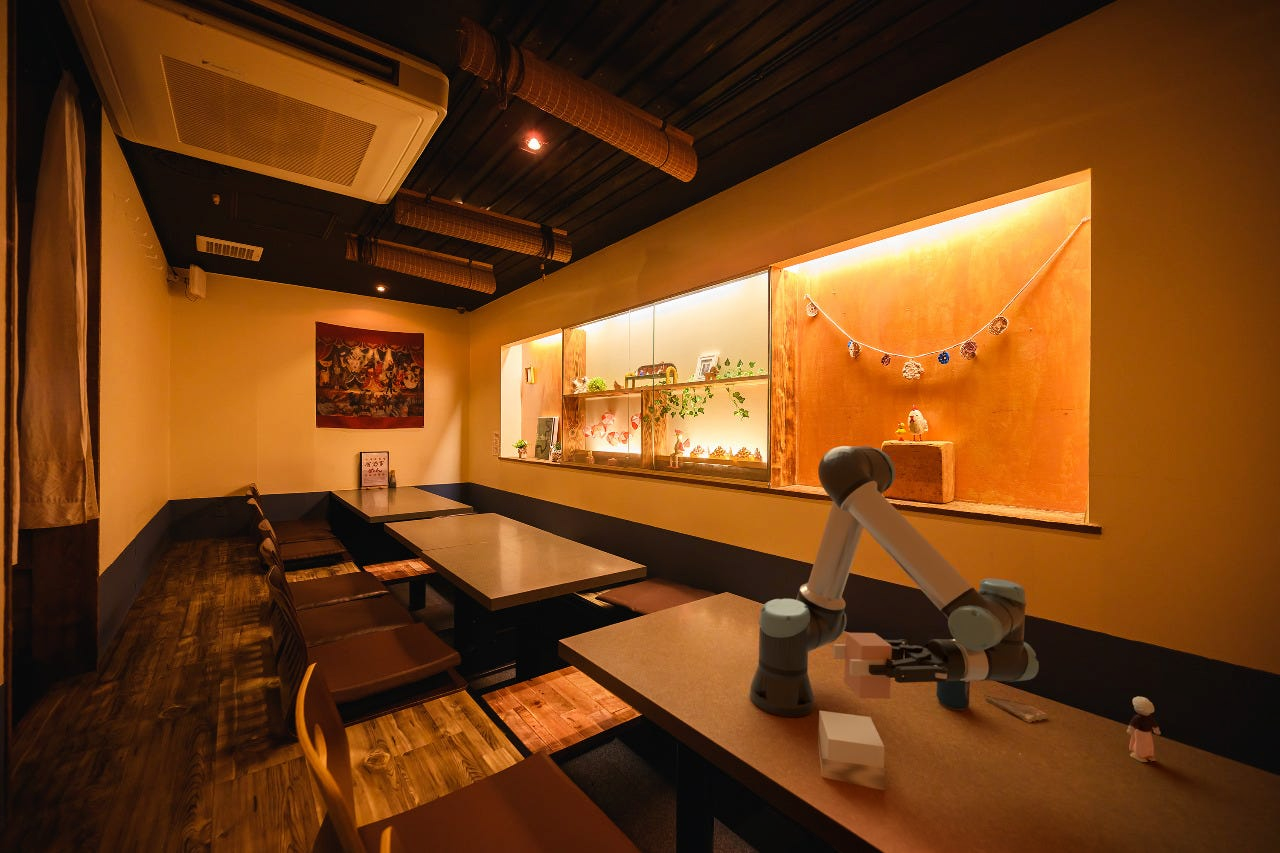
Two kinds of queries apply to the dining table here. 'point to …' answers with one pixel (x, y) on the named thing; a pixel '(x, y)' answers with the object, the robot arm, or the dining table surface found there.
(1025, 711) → the shard
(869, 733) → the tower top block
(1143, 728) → the grandmother figurine
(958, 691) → the soda can
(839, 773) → the tower base block
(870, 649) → the tall block
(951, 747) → the dining table surface
